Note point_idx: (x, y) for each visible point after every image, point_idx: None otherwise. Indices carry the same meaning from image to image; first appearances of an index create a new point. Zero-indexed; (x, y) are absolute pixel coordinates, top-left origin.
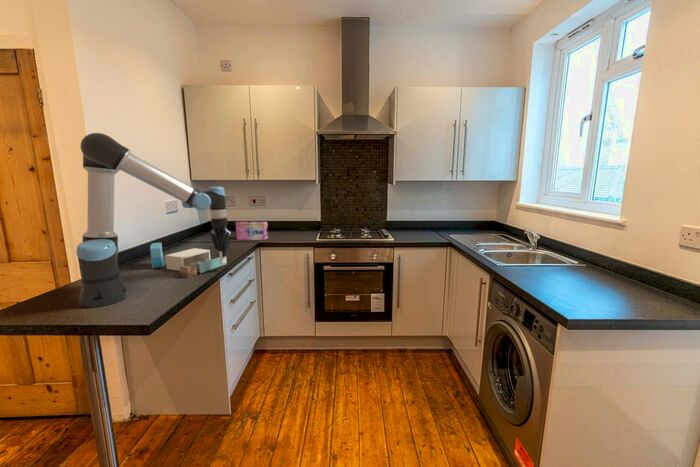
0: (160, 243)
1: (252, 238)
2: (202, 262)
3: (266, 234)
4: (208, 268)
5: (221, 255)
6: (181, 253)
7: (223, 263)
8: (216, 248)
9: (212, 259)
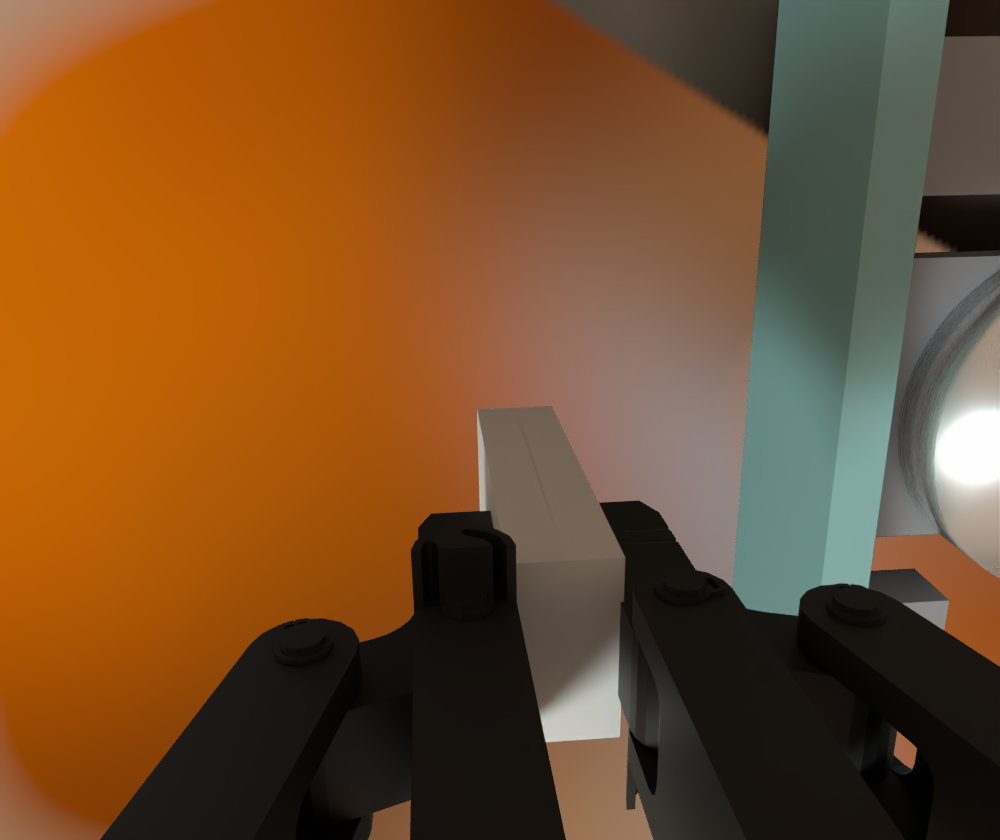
0: None
1: None
2: (930, 113)
3: None
4: (777, 239)
5: (499, 494)
6: None
7: None
8: (801, 614)
9: (877, 460)
